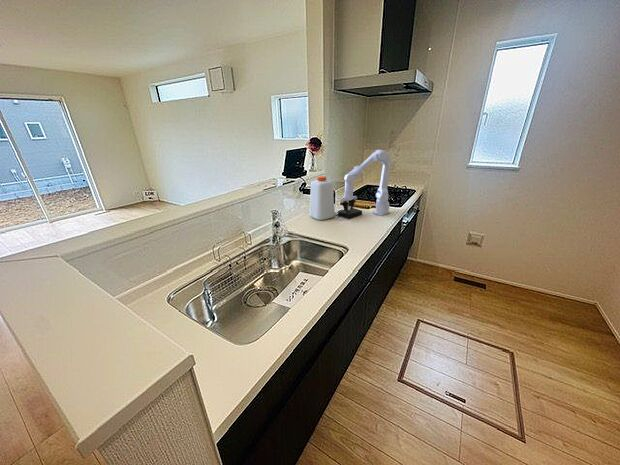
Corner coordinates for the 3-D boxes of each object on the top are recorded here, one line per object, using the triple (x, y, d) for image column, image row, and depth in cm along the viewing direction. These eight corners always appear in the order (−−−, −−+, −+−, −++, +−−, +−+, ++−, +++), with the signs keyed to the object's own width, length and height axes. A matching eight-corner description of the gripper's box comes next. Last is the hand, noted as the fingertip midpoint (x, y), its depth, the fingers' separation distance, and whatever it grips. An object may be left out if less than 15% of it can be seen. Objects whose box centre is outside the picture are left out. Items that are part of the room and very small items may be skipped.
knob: (348, 209, 181) (348, 203, 180) (352, 211, 178) (352, 205, 177) (344, 210, 179) (344, 205, 177) (348, 212, 176) (348, 206, 174)
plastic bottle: (337, 217, 177) (337, 177, 165) (319, 221, 169) (319, 180, 158) (324, 211, 188) (323, 174, 177) (307, 215, 180) (306, 176, 169)
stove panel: (351, 211, 187) (351, 207, 186) (361, 214, 180) (362, 210, 179) (337, 215, 180) (338, 211, 178) (348, 219, 172) (348, 214, 171)
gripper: (351, 189, 180) (351, 207, 186) (337, 192, 172) (336, 211, 178) (359, 190, 175) (358, 209, 180) (344, 194, 167) (343, 213, 172)
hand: (348, 210), depth 179 cm, fingers open, 4 cm apart
